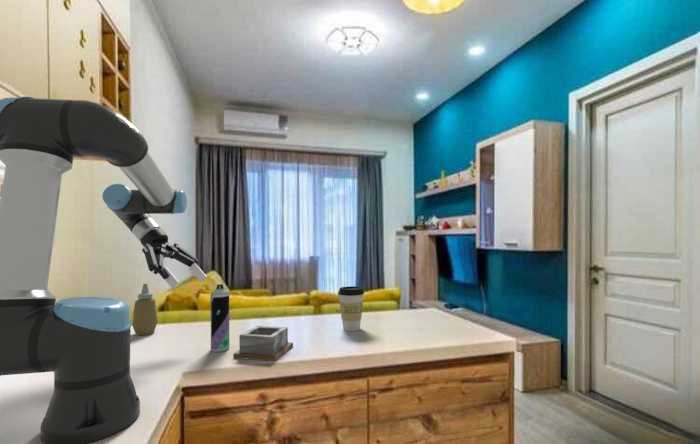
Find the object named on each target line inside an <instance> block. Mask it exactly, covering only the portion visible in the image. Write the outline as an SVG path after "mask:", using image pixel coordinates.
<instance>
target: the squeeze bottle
mask: <svg viewBox="0 0 700 444" xmlns="http://www.w3.org/2000/svg"><path fill="white" fill-rule="evenodd" d="M156 303H157V301H156V299H154V298H153V293H152V292H150V289H149V285H148V283H143V284H142V289H141V293H138V294H137V300H136V301H134V305H133V306H134V308H133V316H132V321H131V327H132V328H133V330H134V331H133V332H134V333H135V335H136V336H145V335H150V334H153V333H154V332H155V330H156V328H157V325H158V312H157V311H158V310H157V305H156Z"/></svg>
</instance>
